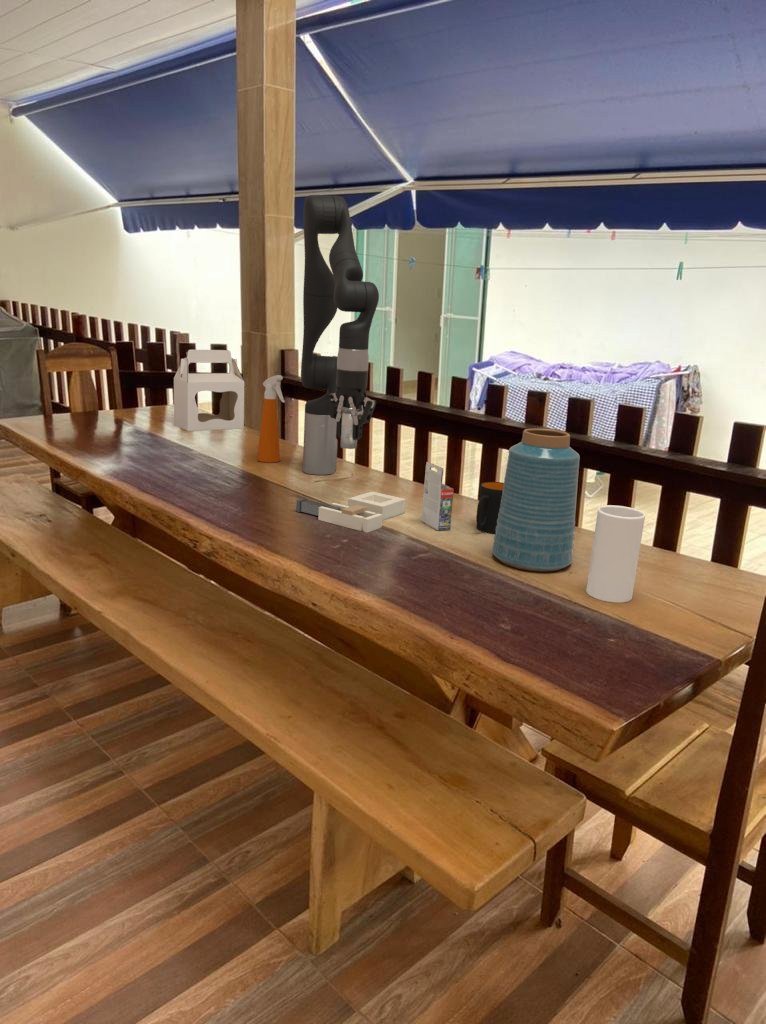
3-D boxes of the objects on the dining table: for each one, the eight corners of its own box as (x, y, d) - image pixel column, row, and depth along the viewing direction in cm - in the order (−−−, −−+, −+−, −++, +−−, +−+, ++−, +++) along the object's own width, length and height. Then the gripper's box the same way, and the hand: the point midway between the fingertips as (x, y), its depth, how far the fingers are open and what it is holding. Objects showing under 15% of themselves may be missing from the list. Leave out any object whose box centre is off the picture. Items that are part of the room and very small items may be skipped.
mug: (460, 531, 178) (464, 487, 175) (488, 522, 187) (493, 480, 184) (490, 540, 173) (495, 494, 170) (518, 530, 182) (523, 487, 179)
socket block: (371, 505, 195) (372, 491, 194) (404, 513, 190) (405, 499, 189) (347, 512, 187) (348, 498, 186) (381, 521, 181) (382, 506, 180)
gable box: (229, 422, 299) (230, 348, 291) (244, 428, 288) (245, 351, 281) (173, 425, 286) (172, 347, 278) (187, 431, 276) (186, 351, 268)
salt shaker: (346, 444, 195) (348, 404, 192) (361, 447, 193) (363, 407, 190) (335, 446, 191) (337, 406, 188) (350, 449, 189) (352, 408, 186)
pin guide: (333, 515, 184) (334, 499, 183) (381, 527, 177) (383, 510, 176) (318, 519, 179) (319, 503, 178) (367, 532, 172) (368, 515, 171)
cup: (580, 585, 148) (591, 504, 143) (621, 586, 149) (634, 506, 144) (595, 602, 140) (607, 516, 136) (639, 603, 141) (653, 518, 136)
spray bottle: (272, 466, 230) (274, 376, 223) (252, 459, 238) (254, 372, 231) (291, 464, 235) (294, 376, 228) (271, 457, 243) (274, 371, 235)
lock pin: (304, 508, 187) (304, 498, 186) (340, 518, 181) (340, 506, 180) (296, 511, 184) (296, 500, 184) (332, 520, 179) (332, 509, 178)
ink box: (434, 520, 185) (439, 460, 181) (451, 530, 178) (456, 467, 174) (420, 521, 183) (425, 460, 179) (437, 531, 176) (442, 468, 172)
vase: (578, 557, 165) (595, 432, 158) (562, 579, 150) (580, 443, 143) (504, 542, 171) (517, 422, 164) (481, 563, 157) (494, 432, 150)
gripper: (385, 370, 186) (381, 440, 191) (338, 363, 193) (335, 431, 198) (367, 372, 180) (363, 445, 185) (319, 365, 187) (316, 435, 192)
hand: (348, 437), depth 191 cm, fingers closed on salt shaker, 4 cm apart
